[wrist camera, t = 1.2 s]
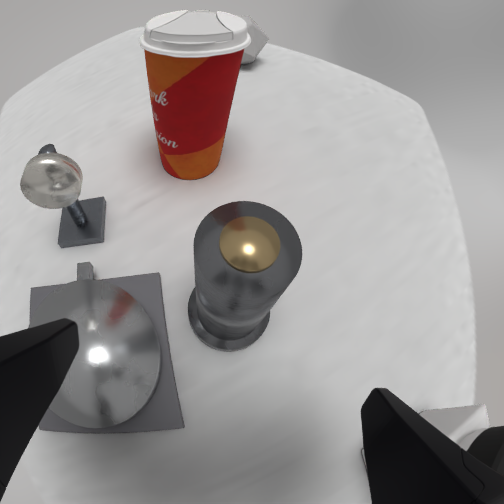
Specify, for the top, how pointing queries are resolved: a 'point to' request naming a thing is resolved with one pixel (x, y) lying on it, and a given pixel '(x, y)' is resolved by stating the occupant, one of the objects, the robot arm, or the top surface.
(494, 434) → the medicine bottle
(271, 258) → the cylinder with brass cap
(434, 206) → the top surface
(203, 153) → the paper cup
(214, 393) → the top surface
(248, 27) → the die
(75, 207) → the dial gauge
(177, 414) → the turntable base
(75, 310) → the platter
